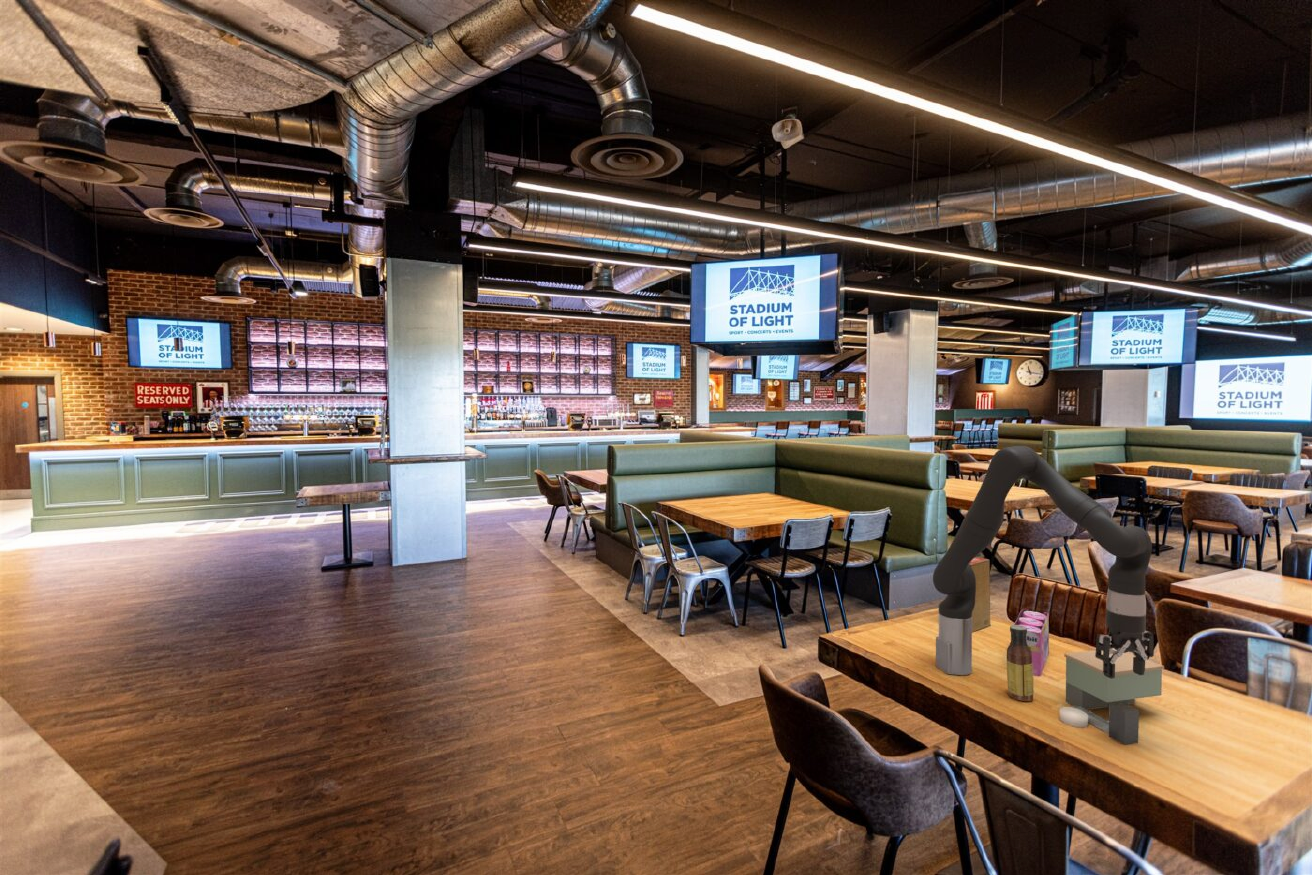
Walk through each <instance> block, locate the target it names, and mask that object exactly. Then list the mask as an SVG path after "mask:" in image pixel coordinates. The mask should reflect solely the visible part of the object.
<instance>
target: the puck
mask: <svg viewBox="0 0 1312 875" xmlns="http://www.w3.org/2000/svg"><path fill="white" fill-rule="evenodd" d="M1059 721H1060V722H1062V723H1063V724H1065V725H1067V726H1071V727H1074V728H1082V729H1083V728H1084V729H1085V728H1087V727H1088V726H1089V723H1088V714H1087V713H1085V712H1084V711H1082V710H1079V709H1076V708H1073V706H1072V707H1071V706H1063V707H1060V708H1059Z"/></svg>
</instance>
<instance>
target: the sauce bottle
mask: <svg viewBox="0 0 1312 875" xmlns="http://www.w3.org/2000/svg"><path fill="white" fill-rule="evenodd" d="M1009 631H1010V643H1009V644H1008V647H1007V648H1006V675H1007V677H1006V678H1007V692H1008V695H1009V696H1010V698H1012V699H1014V700H1017V701H1022V702H1031V701H1033V700H1034V693H1035V692H1034V690H1035V689H1034V685H1035V684H1034V675H1033V662H1032V652H1031V650H1030V648H1029V646H1028V645H1027V641H1026V634H1027V628H1026V627H1024V626H1020V625H1014V624H1012V625H1010V627H1009Z"/></svg>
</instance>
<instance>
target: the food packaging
mask: <svg viewBox="0 0 1312 875" xmlns="http://www.w3.org/2000/svg"><path fill="white" fill-rule="evenodd" d="M968 565H969V566H970V567H971V568H972V569H973V571H974V574H975V577H976V595H975V606H974V609H973V611H972V633H974V632H977V631H980V630H983V629H986V628H988V627H991V576H990V575H991V573H990V572H991V570H990V568H991V567H990V566H991V560H990V559H988V558H983V557H977V556H976V557H975V558H974V559H973V560H972V561H971V562H970V563H969V564H968Z"/></svg>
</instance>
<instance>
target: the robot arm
mask: <svg viewBox="0 0 1312 875" xmlns="http://www.w3.org/2000/svg"><path fill="white" fill-rule="evenodd" d="M1024 479H1025V480H1026V481H1029V482H1031V483H1033V484H1034V485H1036V486H1037V487H1039V488H1040V489H1042V490H1043V491H1044V492H1045V493H1046V494H1047V495H1048V497H1049V498H1050V499H1051V500H1052V502H1053V503H1054V504H1055V506H1056V507H1057V508H1058V509H1059V510H1060V511H1061V513H1063V514H1064V515H1065V517H1067V518H1069V519H1070V520H1071V521H1073V522H1074V523H1075V524H1077V525H1078V526H1079V527H1081V528H1083V529H1085V531H1086V532H1088V535H1090V536H1091V538H1093V540H1094V541H1095V542H1096V543H1098V545H1099V546H1100V547H1101V548H1103V549H1104V550H1105V551H1106V552H1107V553H1109V554H1110V555H1113V556H1114V557H1115V561H1114V564H1112V565H1111V566H1110V568H1109V570H1108V577H1107V593H1106V599H1105V600H1106V603H1105V604H1106V605H1105V625H1106V626H1107V628H1108V629H1109V631H1108V634H1106V635H1105V634H1101V633H1097V634H1096V639H1095V640H1096V641H1095V642H1096V643H1095V650H1096V653H1095V657H1096V658H1098V659H1100V660H1103V673H1104V675H1105V676H1106V677H1108V678H1111V679H1113V678H1115V664H1114V663H1115V661H1116V660H1117V658H1118V657H1121V656H1122V654H1123V653H1126V652H1130V653H1132V654H1133V655H1134V656H1136V657H1133V672H1134V673H1136V674H1138V675H1144V672H1145V660H1148V658H1149V657H1150V658H1153V657H1154V656H1155V655H1154V653H1155V651H1154V648H1155V647H1154V646H1155V645H1154V633H1153V632H1151V631H1148V630H1147V629H1146V628H1147V623H1146V622H1147V620H1146V619H1147V599H1146V573H1147V572H1148V567H1149V565H1150V564H1149V563H1150V560H1151V556H1152V551H1153V550H1152V549H1153V544H1152V543H1153V542H1152V538H1151V536H1150V534H1149V533H1148V532H1147V531H1146V530H1145V529H1144V528H1143V527H1140V526H1136V525H1126V526H1122V525H1120V524H1119V523H1118V522H1116V520H1114V519H1113V518H1112V517H1113V516H1112V515H1113V514H1112V512H1111V511H1110V510H1109V509H1107V508H1106V507H1105V506H1104V505H1102V504H1101V503H1099V502H1098V501H1096V500H1095V499H1093V497H1091V496H1089V495H1087V494H1086V493H1085V492H1083V491H1081V490H1080V488H1078V487H1077V486H1075V485H1073V483H1071V482H1070V481H1069V480H1067V479H1066V478H1065V477H1064V476H1063V475H1062V474H1061V473H1059V472H1058V471H1057V470H1056V469H1055V468H1054V467H1052V466H1051V464H1049V462H1047V461H1046V460H1045V459H1044V458H1043V457H1042V456H1041V455H1040V454H1039V453H1038V452H1037V451H1035V450H1034V449H1033V448H1031V447H1029V446H1026V445H1013V446H1006V447H1002V448H1000V449H999V450H997V451H996V452H995V453H994V454H993V455H992V458H991V459H990V462H989V465H988V467H987V470H986V473H985V476H984V478H983V481H982V484H981V486H980V488H979V490H978V492H977V493H976V496H975V498H974V500H973V502H972V503H971V505H970V507H969V508H968V510H967V512H966V515H965V516H964V519H963V520H962V522H961V523H960V524H961V525H960V527H959V528H958V530H957V532H956V534H955V536H954V538H953V540H952V542H951V544H950V546H949V547H948V549H947V551H946V552H945V554H944V555H943V556H942V558H941V559H940V561H939V562H938V564H937V565H936V567H935V568H934V571H933V574H932V583H933V585H934V588H935V590H936V591H938V593H940V594H942V595H947V596H946V597H945V598H944V599H943V600H942V601H940V603H939V604H938V636H935V667H936V668H938V669H939V670H941V671H943V672H944V673H946V674H947V675H954V676H955V675H956V676H967V675H970V674H972V673H973V672H972V671H973V668H972V667H973V640H972V638H973V632H972V611H973V609H974V606H975V595H976V577H975V574H974V571H973V569H972V568H971V567H970V566H969V565H968V564H969V563H970V562H971V561H972V560H973V559H974V558H975V557H977V556H978V555H979V554H981V552H983V551H984V550H985V549H986V548H987V547H989V546H990V544H991V543H992V542H993V541H994V539H995V538H996V536H997V535H998V533H999V531H1000V529H1001V527H1002V525H1003V523H1004V519H1005V502H1006V498H1007V496H1008V494H1009V493H1010V491H1011V489H1012V488H1013V487H1014V485H1015V483H1016V482H1017V481H1019V480H1024ZM1112 648H1114V649H1115V650H1117V651H1115V650H1112ZM1146 648H1147V649H1146ZM1102 651H1103V655H1102V654H1101V652H1102ZM1110 654H1113V655H1112V656H1111V658H1110V657H1109V655H1110Z"/></svg>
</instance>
